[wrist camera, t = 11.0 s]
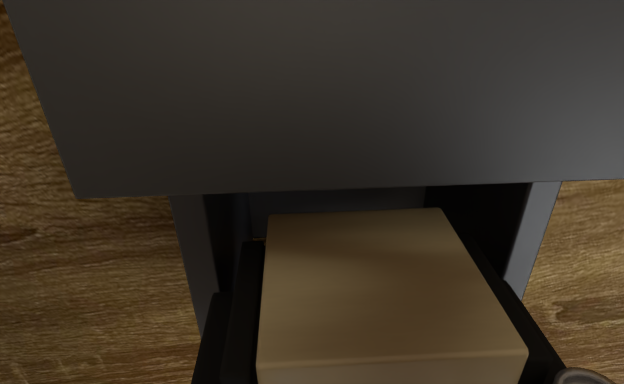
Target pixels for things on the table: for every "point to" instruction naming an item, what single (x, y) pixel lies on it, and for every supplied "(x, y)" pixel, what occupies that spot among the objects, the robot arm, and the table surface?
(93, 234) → the table surface
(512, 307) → the robot arm
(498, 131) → the cabinet
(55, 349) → the table surface
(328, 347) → the block
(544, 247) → the table surface
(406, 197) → the drawer
